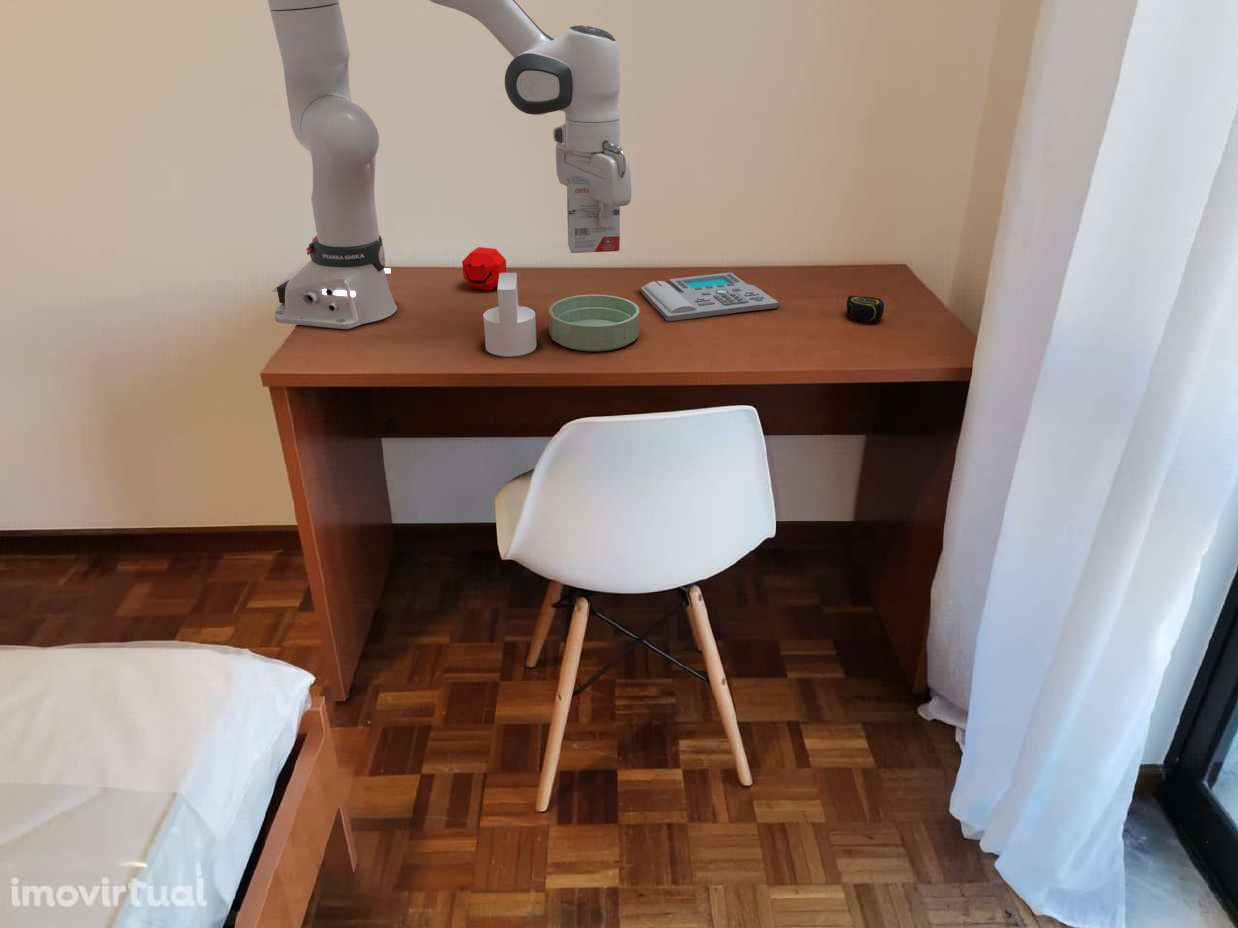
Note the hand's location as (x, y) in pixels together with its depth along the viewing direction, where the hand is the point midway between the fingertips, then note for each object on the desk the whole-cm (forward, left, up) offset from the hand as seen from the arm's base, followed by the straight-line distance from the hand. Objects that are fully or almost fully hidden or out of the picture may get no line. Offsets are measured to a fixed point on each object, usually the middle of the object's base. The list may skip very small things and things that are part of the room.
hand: (593, 221), depth 154 cm
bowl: (0, 0, -21) cm, 21 cm away
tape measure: (+51, +12, -21) cm, 57 cm away
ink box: (0, 0, -5) cm, 5 cm away
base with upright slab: (-14, -6, -21) cm, 26 cm away
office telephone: (+21, +21, -21) cm, 36 cm away
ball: (-24, +26, -21) cm, 41 cm away
